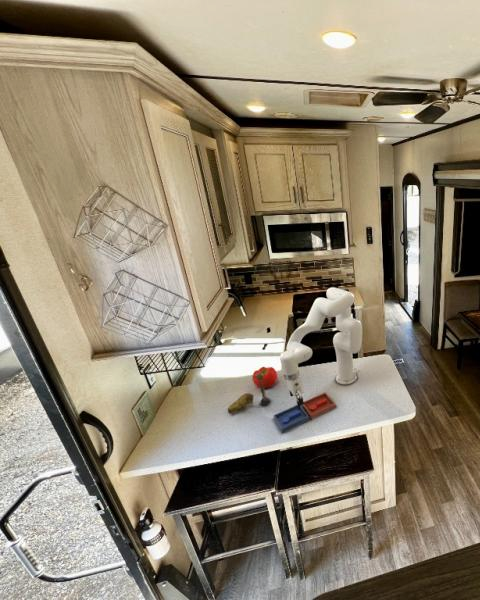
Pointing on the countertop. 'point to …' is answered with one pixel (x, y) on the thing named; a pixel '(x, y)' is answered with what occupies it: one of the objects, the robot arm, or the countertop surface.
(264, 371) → the tomato
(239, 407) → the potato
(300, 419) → the blue tray
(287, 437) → the countertop surface
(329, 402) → the red tray
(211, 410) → the countertop surface
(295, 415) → the blue spoon
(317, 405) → the red spoon
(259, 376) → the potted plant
